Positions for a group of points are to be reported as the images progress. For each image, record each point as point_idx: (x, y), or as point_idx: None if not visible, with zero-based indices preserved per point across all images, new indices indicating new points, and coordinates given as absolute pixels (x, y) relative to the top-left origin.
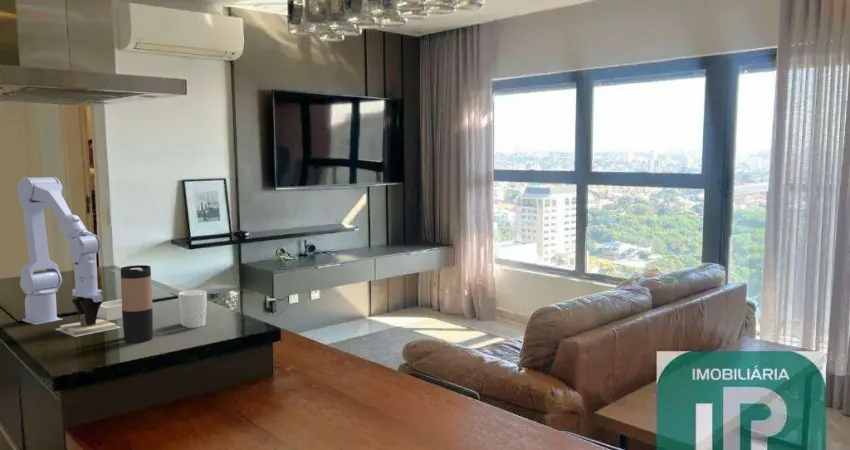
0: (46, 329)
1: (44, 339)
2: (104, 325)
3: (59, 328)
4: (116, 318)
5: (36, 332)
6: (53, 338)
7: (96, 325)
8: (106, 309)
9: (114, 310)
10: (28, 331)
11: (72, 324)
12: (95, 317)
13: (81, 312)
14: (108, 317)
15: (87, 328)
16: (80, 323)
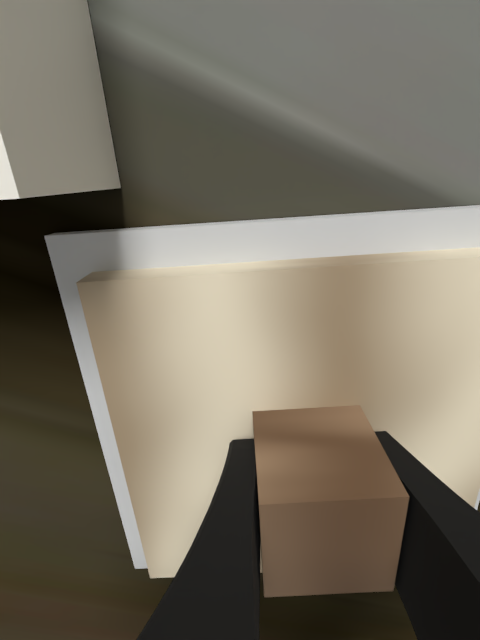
0: (54, 572)
1: (315, 625)
2: (472, 365)
3: (138, 549)
4: (81, 39)
5: (102, 615)
6: (334, 599)
7: (398, 413)
8: (30, 196)
9: (19, 19)
10: (43, 631)
11: (182, 520)
12: (431, 482)
13: (258, 614)
14: (95, 167)
15: None
16: (192, 473)
